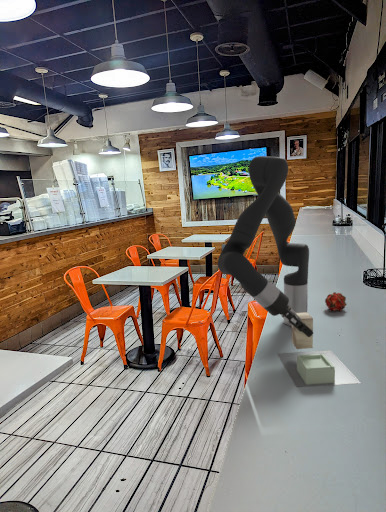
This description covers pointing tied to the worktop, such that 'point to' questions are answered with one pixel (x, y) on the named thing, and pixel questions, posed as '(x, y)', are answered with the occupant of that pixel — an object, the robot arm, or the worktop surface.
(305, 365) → the green plinth
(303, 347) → the birch pillar
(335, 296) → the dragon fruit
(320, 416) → the worktop surface
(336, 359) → the grey flat plate
